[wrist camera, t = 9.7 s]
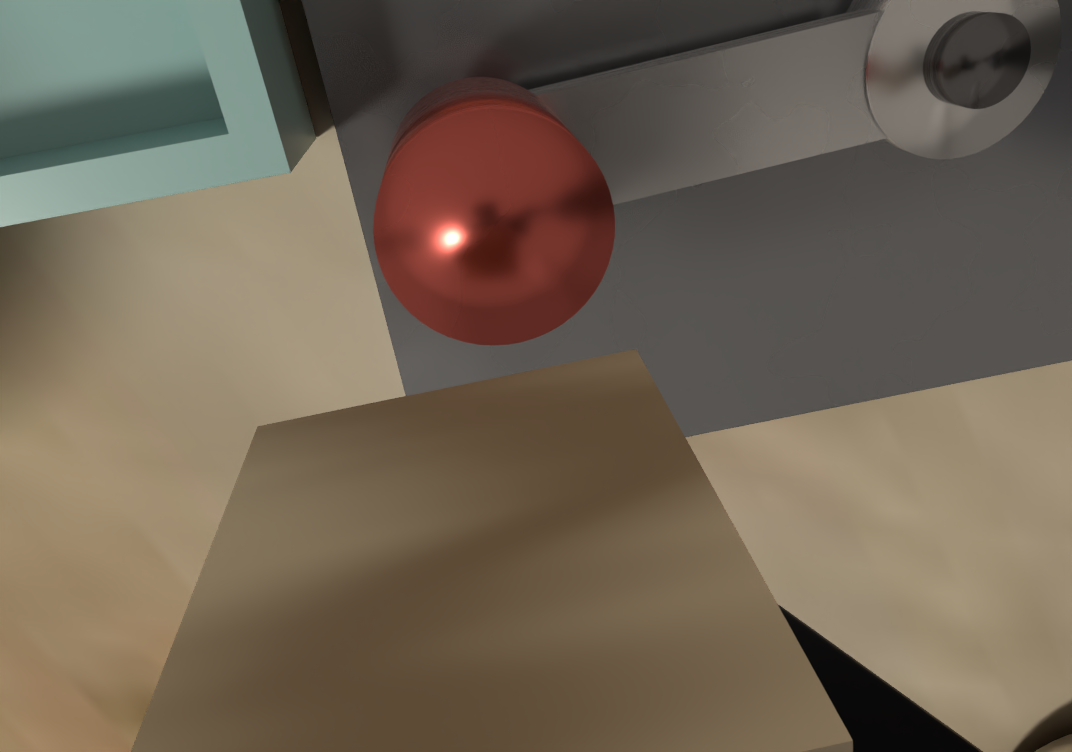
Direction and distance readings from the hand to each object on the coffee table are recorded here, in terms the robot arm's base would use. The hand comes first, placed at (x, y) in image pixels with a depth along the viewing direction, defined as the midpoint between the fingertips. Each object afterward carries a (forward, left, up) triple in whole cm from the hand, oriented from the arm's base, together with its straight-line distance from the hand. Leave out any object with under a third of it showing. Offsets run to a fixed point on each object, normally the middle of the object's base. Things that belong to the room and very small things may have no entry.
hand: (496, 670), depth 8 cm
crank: (-5, -3, -9) cm, 11 cm away
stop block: (0, 0, -2) cm, 2 cm away
